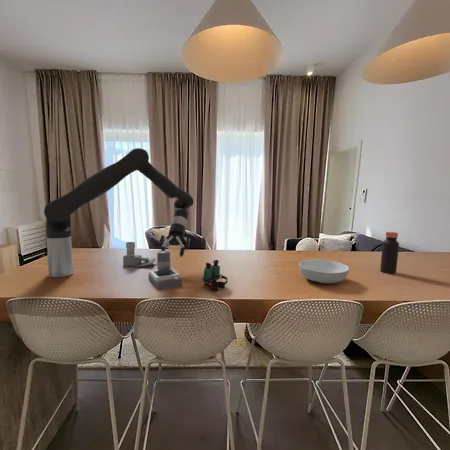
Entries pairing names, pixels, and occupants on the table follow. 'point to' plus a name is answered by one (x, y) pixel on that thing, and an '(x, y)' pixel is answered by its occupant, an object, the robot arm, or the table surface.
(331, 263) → the serving bowl
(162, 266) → the lens
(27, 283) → the table surface
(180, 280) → the plate
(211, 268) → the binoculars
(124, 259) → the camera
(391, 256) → the bottle
